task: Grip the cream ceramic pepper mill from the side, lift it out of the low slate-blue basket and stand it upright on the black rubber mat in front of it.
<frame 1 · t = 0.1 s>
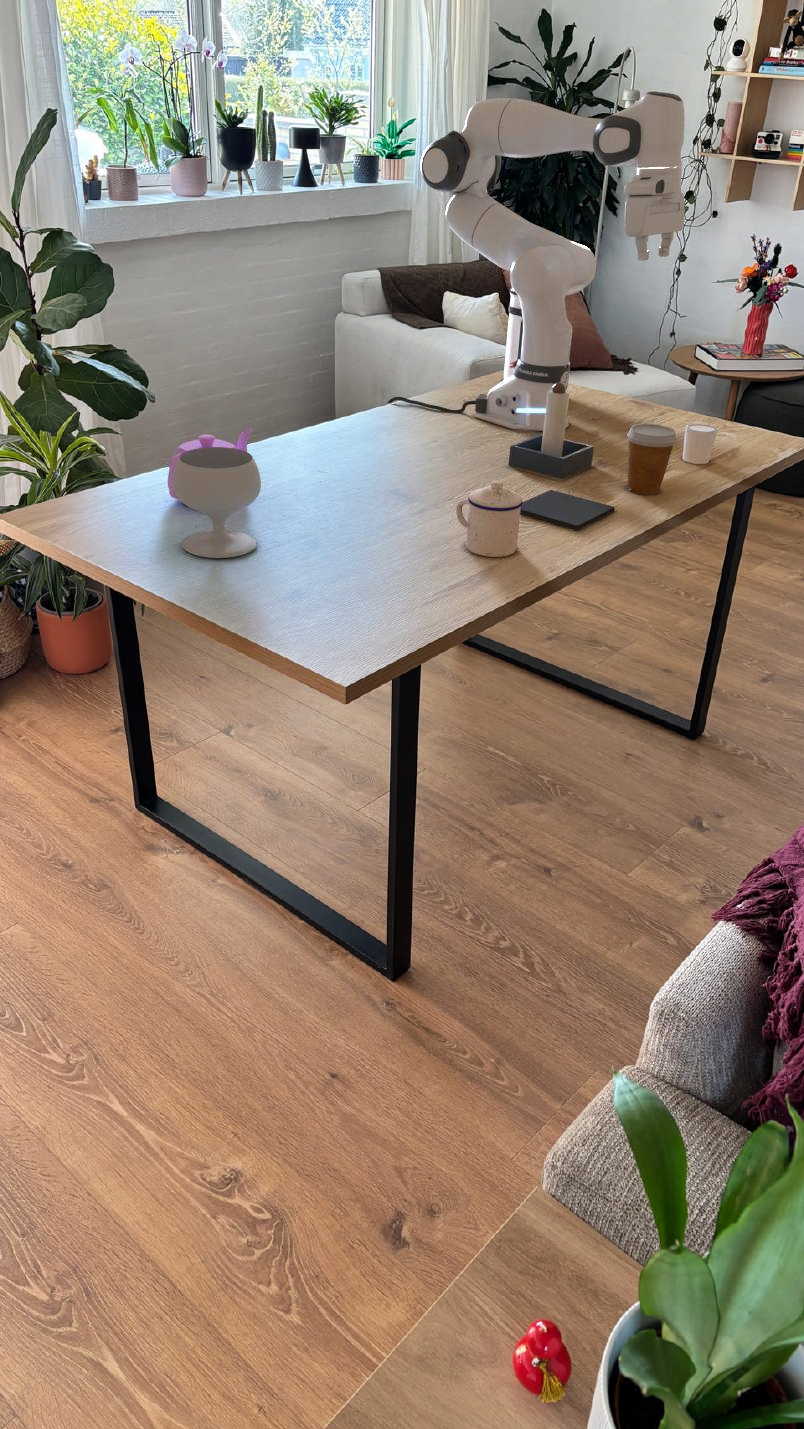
hand: (653, 258, 225), 39 cm above the table, tool pointing down, fingers open, 8 cm apart
mat: (563, 512, 202), on the table
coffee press: (522, 391, 284), on the table
disposable coffee cup: (643, 490, 216), on the table
basket: (549, 467, 226), on the table
chalice: (219, 547, 180), on the table
pepper mill: (550, 464, 226), point 1 cm above the table, touching basket
teacup with lid: (483, 547, 186), on the table
white cup: (695, 461, 235), on the table
teapot: (214, 499, 201), on the table
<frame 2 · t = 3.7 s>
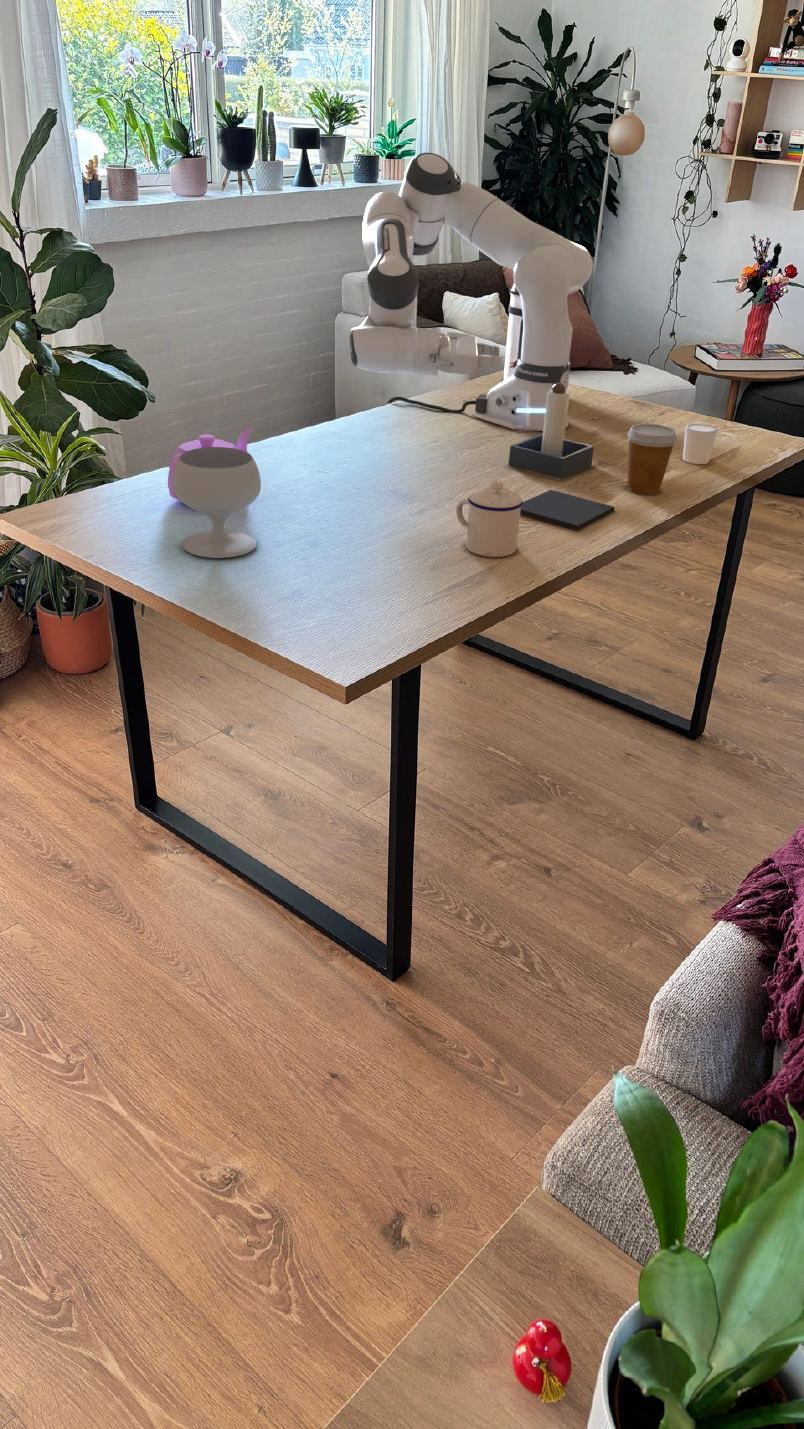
hand: (500, 356, 215), 22 cm above the table, tool horizontal, fingers open, 8 cm apart
nothing on the table moved.
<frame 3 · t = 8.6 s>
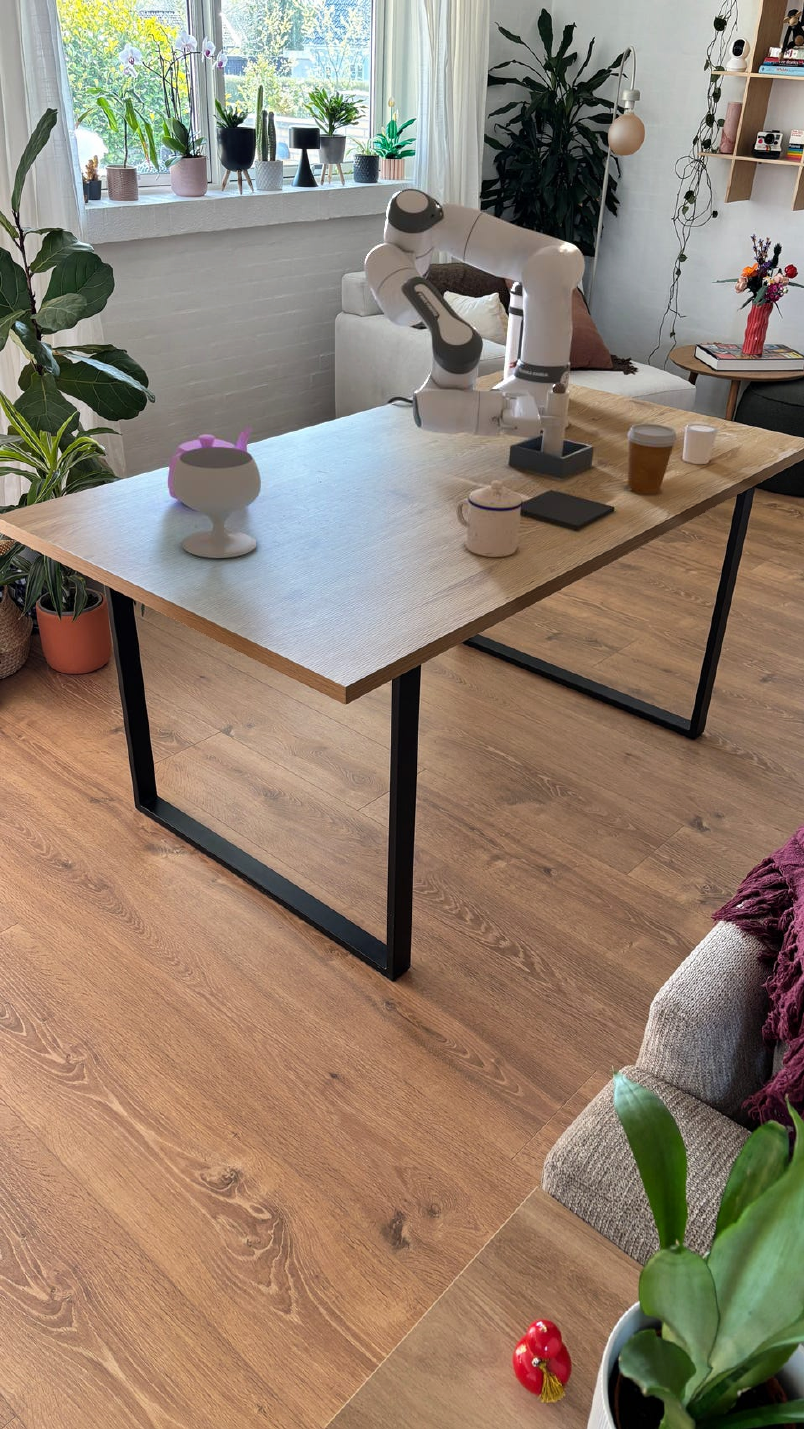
hand: (560, 417, 221), 11 cm above the table, tool horizontal, fingers closed on pepper mill, 4 cm apart
pepper mill: (550, 464, 226), point 1 cm above the table, touching basket, gripper
everything else where it was.
when the fingers open (11 cm above the table, at t = 17.4 s): pepper mill stays where it is, resting on mat.
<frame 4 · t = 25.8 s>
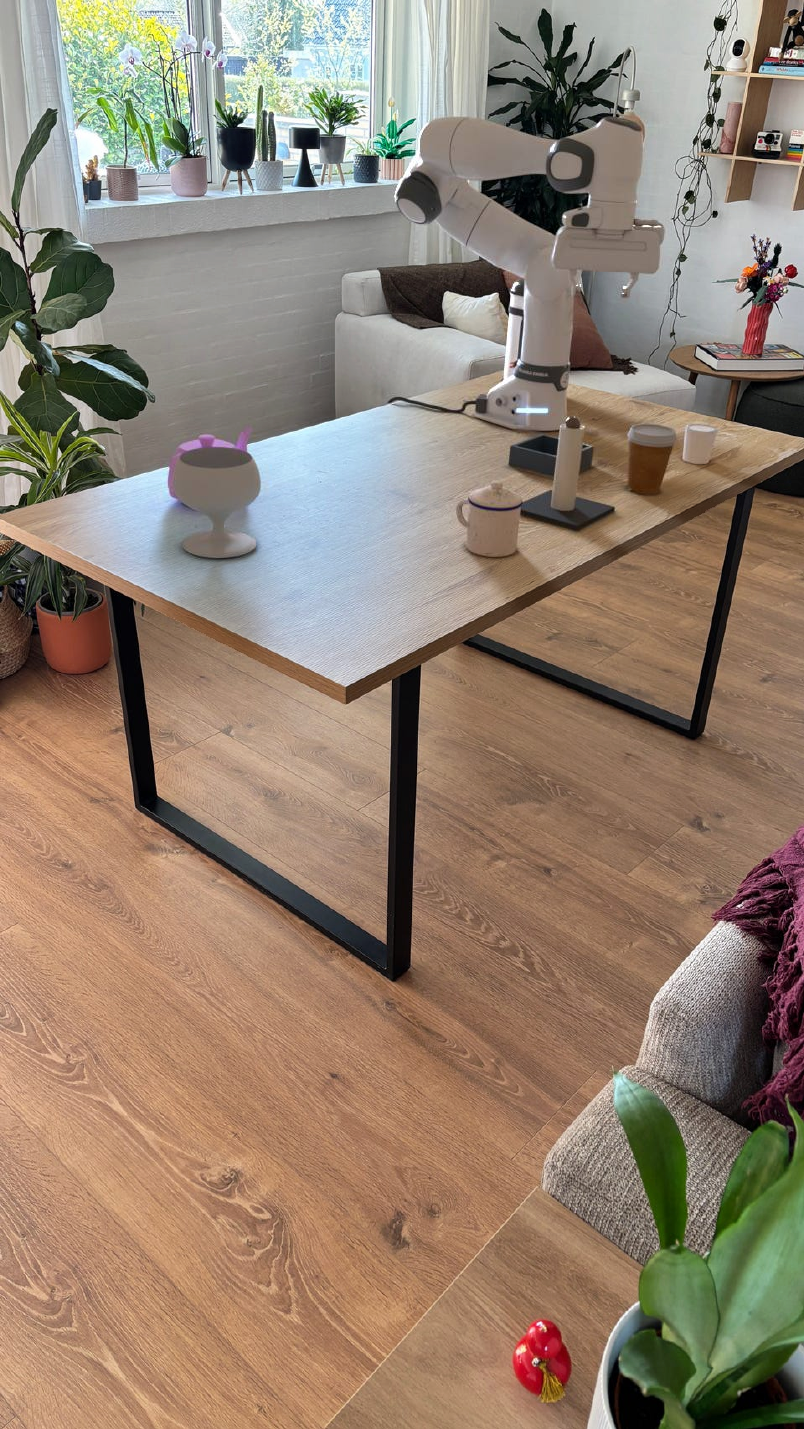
hand: (600, 296, 208), 34 cm above the table, tool pointing down, fingers open, 8 cm apart
pepper mill: (562, 507, 202), point 1 cm above the table, touching mat
everything else where it was.
at the end: pepper mill inside the target area on the mat (0.2 cm from its centre), point 1.0 cm above the mat's base; pepper mill tilted 0°; pepper mill touching mat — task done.
